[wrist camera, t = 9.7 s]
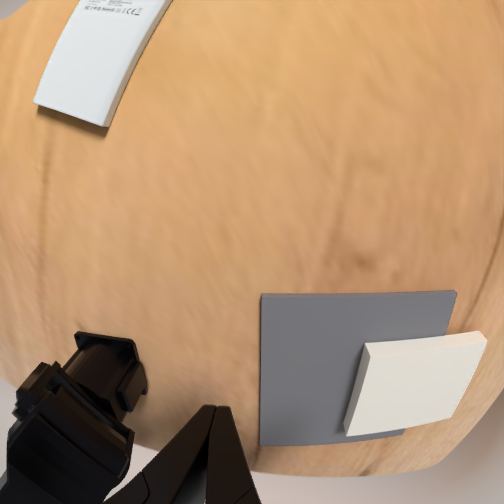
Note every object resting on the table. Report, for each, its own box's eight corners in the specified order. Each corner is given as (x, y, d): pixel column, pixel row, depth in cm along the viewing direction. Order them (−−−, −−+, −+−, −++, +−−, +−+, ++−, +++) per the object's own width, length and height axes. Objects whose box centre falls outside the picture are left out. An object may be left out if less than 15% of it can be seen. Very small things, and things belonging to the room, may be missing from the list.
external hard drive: (42, 103, 18) (105, -23, 14) (112, 127, 19) (186, -15, 15) (30, 102, 17) (97, -30, 13) (101, 126, 17) (180, -24, 13)
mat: (259, 441, 27) (259, 445, 27) (261, 293, 21) (261, 297, 21) (400, 430, 26) (402, 434, 26) (453, 289, 21) (457, 293, 20)
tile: (346, 436, 23) (450, 417, 22) (370, 356, 20) (487, 341, 19) (343, 421, 25) (444, 405, 24) (364, 341, 22) (477, 329, 21)
